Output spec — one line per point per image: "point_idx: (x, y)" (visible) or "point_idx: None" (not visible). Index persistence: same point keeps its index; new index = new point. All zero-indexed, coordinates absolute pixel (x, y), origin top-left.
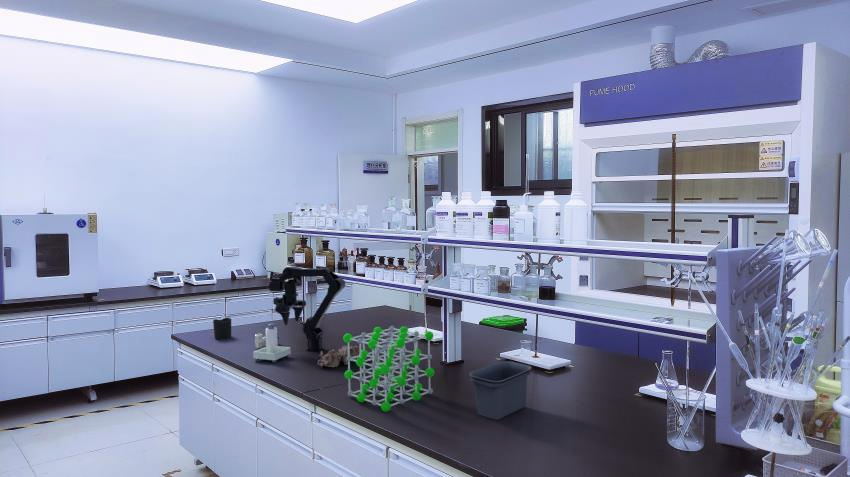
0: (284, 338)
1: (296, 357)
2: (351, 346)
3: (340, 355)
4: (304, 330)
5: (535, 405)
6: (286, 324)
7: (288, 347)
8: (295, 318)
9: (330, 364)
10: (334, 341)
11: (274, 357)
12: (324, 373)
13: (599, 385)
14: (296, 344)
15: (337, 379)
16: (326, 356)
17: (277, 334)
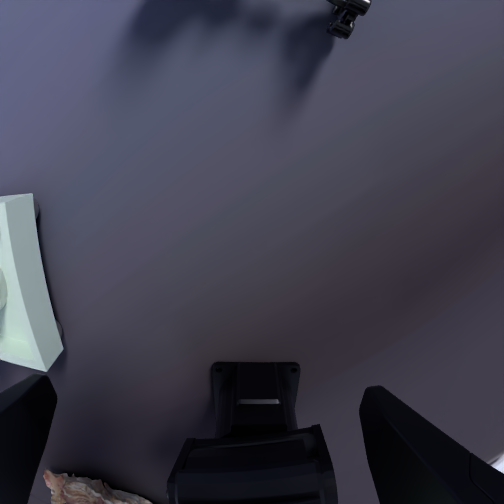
0: (469, 30)
1: (81, 369)
2: None
3: None
4: (169, 480)
5: None
6: (43, 399)
7: (40, 361)
8: (382, 420)
9: (69, 492)
10: (439, 376)
11: None
12: (40, 474)
13: None
14: (359, 197)
15: (39, 491)
16: (95, 491)
17: (355, 11)
